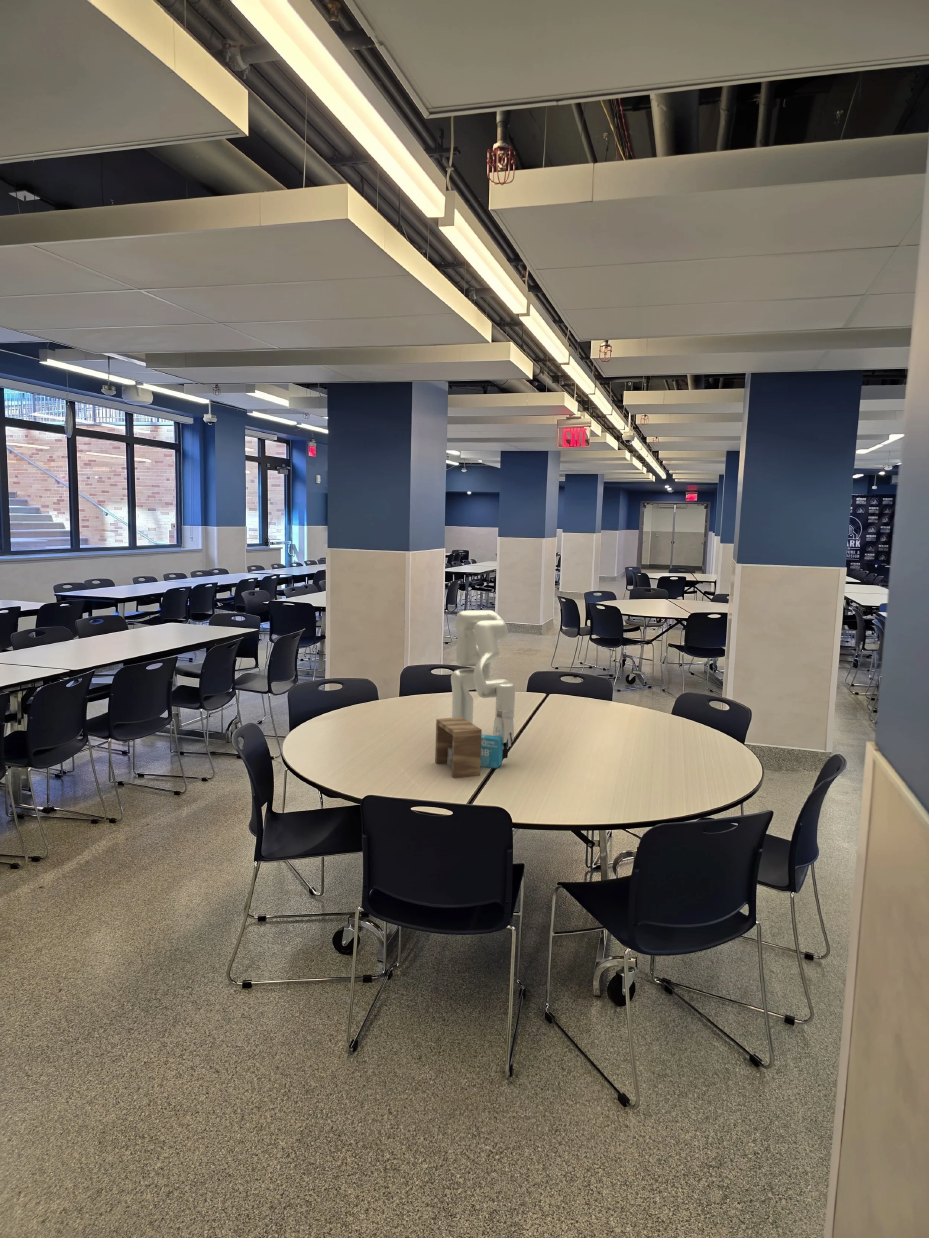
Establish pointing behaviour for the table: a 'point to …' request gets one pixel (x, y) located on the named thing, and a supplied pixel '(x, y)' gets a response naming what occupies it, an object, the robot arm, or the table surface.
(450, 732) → the overhang shelf
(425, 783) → the table surface
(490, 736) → the data package
